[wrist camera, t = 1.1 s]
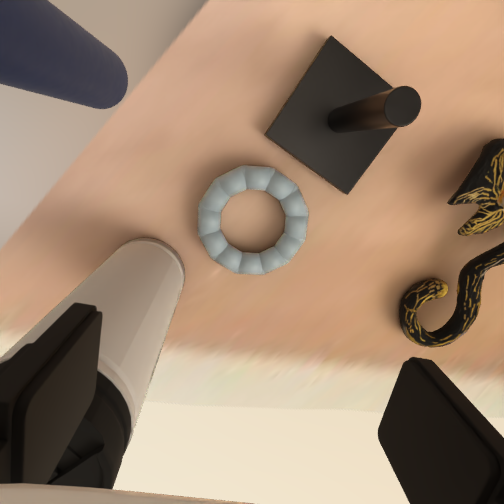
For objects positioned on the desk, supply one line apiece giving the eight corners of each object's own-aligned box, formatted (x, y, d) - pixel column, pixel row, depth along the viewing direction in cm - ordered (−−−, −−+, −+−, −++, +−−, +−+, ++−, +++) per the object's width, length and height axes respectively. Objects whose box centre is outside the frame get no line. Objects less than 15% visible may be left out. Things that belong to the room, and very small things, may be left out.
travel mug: (91, 267, 29) (-170, 498, 10) (153, 222, 28) (-7, 381, 9) (140, 320, 31) (-5, 604, 12) (200, 279, 30) (147, 513, 11)
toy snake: (456, 379, 28) (362, 312, 27) (428, 351, 33) (346, 293, 32) (626, 200, 25) (529, 114, 24) (569, 196, 30) (485, 123, 29)
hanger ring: (178, 234, 29) (175, 240, 27) (237, 142, 27) (238, 142, 25) (265, 287, 31) (267, 296, 29) (326, 205, 29) (332, 209, 27)
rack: (264, 135, 27) (285, 129, 16) (327, 38, 25) (395, -36, 15) (343, 193, 29) (408, 222, 18) (408, 106, 27) (521, 83, 16)
